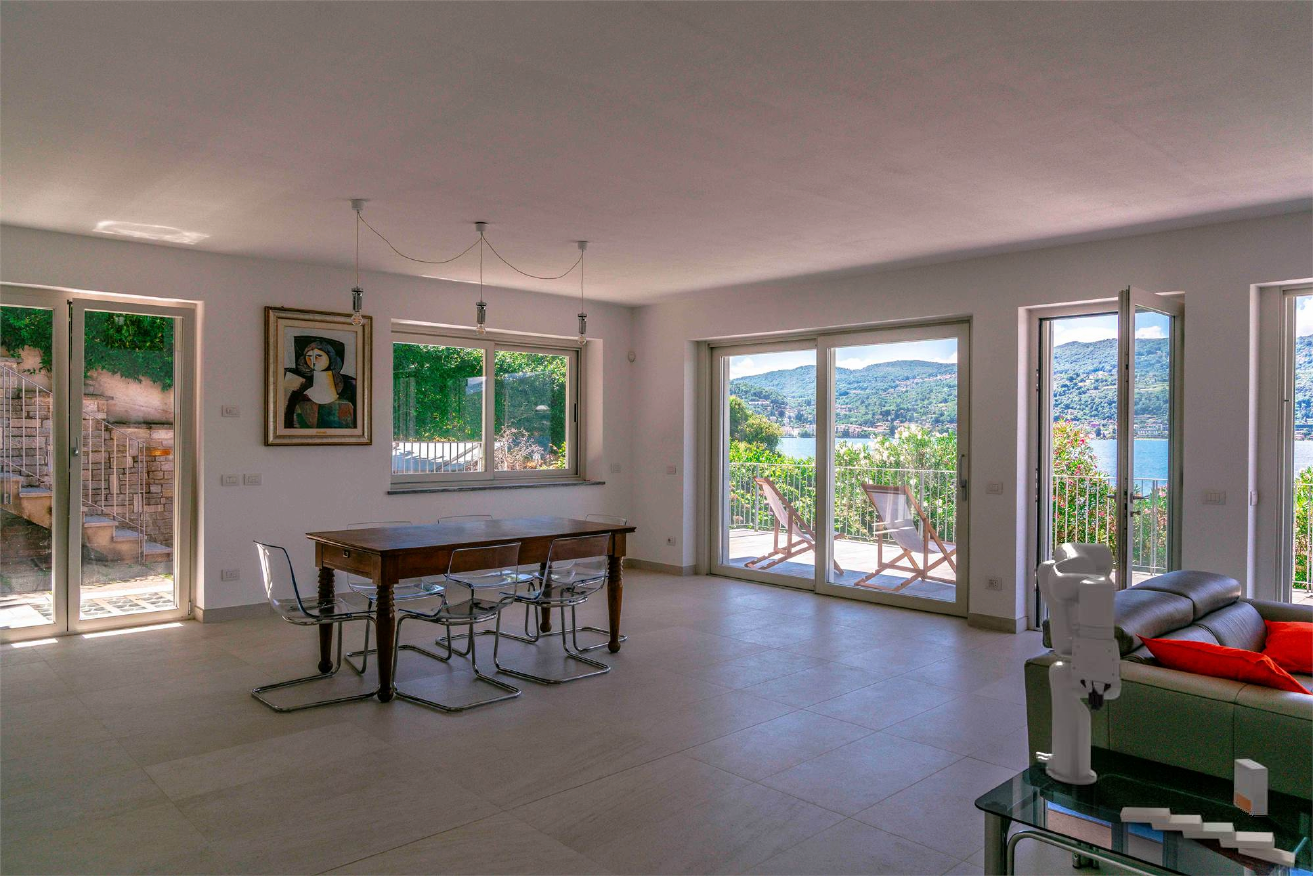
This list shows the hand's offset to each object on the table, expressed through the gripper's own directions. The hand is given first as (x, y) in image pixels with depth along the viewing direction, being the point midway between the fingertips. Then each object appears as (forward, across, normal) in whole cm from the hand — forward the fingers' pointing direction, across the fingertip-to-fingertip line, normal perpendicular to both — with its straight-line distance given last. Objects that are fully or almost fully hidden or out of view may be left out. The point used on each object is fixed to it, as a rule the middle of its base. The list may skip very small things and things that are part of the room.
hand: (1095, 708), depth 201 cm
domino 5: (+29, +28, +11) cm, 41 cm away
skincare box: (+29, +28, +34) cm, 53 cm away
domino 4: (+28, +24, +11) cm, 39 cm away
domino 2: (+28, +10, +11) cm, 32 cm away
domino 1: (+28, +4, +11) cm, 30 cm away
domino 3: (+28, +17, +11) cm, 35 cm away
